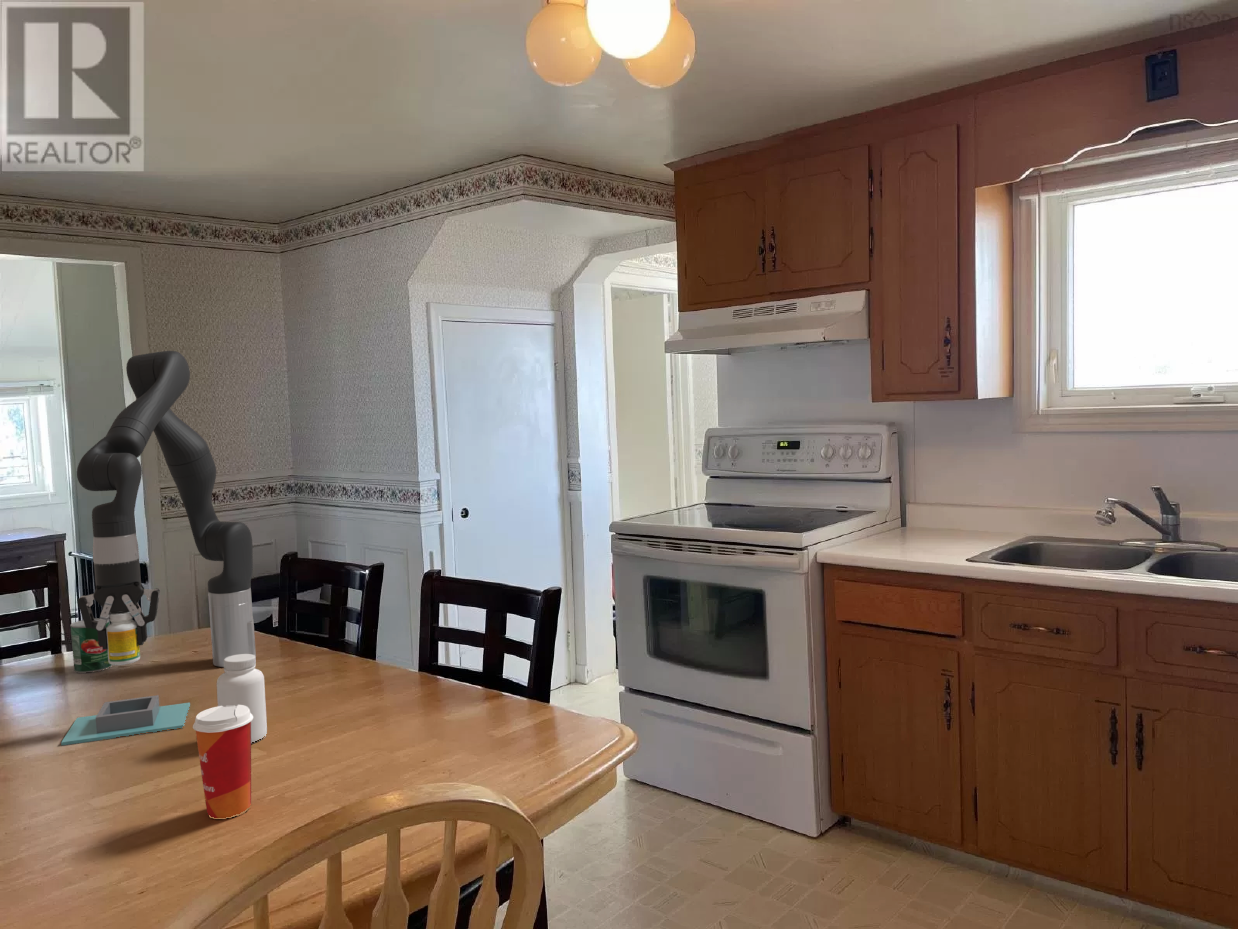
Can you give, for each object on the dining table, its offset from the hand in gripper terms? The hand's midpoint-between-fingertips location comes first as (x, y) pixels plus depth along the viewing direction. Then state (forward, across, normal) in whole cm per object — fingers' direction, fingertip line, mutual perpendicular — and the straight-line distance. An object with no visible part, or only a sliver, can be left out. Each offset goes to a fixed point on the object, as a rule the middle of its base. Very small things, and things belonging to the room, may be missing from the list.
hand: (123, 646), depth 174 cm
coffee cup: (+15, -20, +49) cm, 55 cm away
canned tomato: (+16, +14, -47) cm, 51 cm away
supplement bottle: (+3, 0, 0) cm, 3 cm away
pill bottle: (+15, -21, +18) cm, 32 cm away
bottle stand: (+15, 0, 0) cm, 15 cm away
